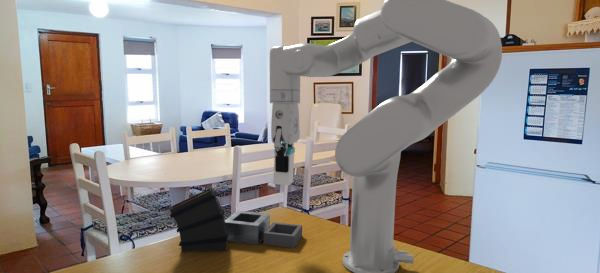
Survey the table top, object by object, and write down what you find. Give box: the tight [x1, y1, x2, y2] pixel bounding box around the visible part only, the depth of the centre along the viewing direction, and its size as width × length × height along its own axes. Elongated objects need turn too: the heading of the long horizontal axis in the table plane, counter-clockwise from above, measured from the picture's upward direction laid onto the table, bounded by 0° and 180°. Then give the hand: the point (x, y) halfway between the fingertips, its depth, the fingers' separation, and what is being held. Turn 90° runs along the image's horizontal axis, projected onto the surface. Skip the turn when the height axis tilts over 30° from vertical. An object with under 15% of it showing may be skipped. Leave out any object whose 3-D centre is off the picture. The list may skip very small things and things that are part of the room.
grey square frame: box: [263, 221, 303, 249], centre depth 107 cm, size 8×8×3 cm
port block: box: [224, 210, 271, 246], centre depth 109 cm, size 10×10×5 cm
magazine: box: [169, 187, 228, 252], centre depth 100 cm, size 4×13×15 cm, turn 94°
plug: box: [272, 146, 296, 186], centre depth 104 cm, size 4×4×9 cm
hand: (284, 169), depth 104 cm, fingers closed on plug, 4 cm apart
